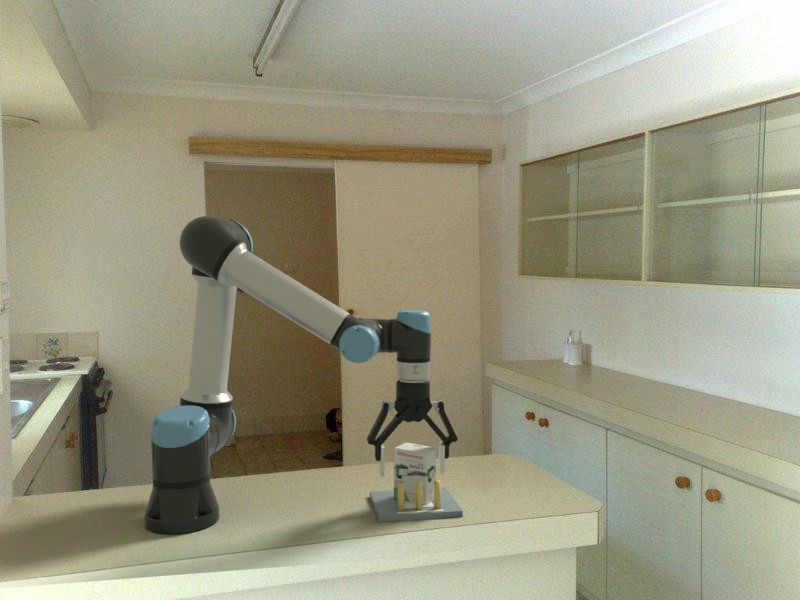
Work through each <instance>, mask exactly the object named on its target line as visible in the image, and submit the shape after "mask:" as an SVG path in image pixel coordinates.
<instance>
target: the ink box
mask: <svg viewBox="0 0 800 600" xmlns="http://www.w3.org/2000/svg"><path fill="white" fill-rule="evenodd" d="M393 460H394V461H393V463H394V465H393V467H394V469H393V475H394V476H393V490H394V498H395V499H398V482H403V483H404V500H405V501H409V502H414V503H416V482H417V481H422V491H423V505H426V504H428V503H430V502H432V501H433V500H434V481H435V480H437V475H436V474H437V473H436V472H437V448H435V447H434V446H428V445H422V444H417V443H412V442H403V443H402V444H400V445H398V446H396V447H394V459H393Z"/></svg>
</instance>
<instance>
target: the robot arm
mask: <svg viewBox="0 0 800 600" xmlns="http://www.w3.org/2000/svg"><path fill="white" fill-rule="evenodd" d="M180 233H181V234H180V237H179V248H180V249H179V250H180V252H181V255H182V257H183V258H184V260H185V261H186V262H187V264H188V265H190V266H191V277H192V278H193V279H194V280H195V282H196V283H197V291H196V300H195V311H194V312H195V313H194V322H193V332H192V333H193V335H192V345H191V355H190V363H189V364H190V365H189V378H188V387H187V388H186V389H185V390H184V391H182V392H181V394H180V400H179V406H178V405H177V406H173V407H171V408H166V409H163V410H161V411H159V412H157V413H156V414H155V415H154V416H153V418H152V420H151V428H150V437H149V438H150V445H151V448H150V449H151V468H152V473H151V474H152V488H151V491H150V494H149V495H150V497H149V498H148V503H147V505H146V509H145V512H144V527H145V529H147V530H149V531H151V532H154V533H158V534H165V535H171V534H172V535H174V534H175V535H176V534H185V533H193V532H196V531H200V530H204V529H207V528H209V527H211V526H213V525H214V524H216V523H218V521H219V520H220V505H219V503H218V500H217V497H216V495H215V492H214V489H213V486H212V483H211V464H210V461H211V460H210V459H211V457H212V455H214V454H215V453H216V452H218V451H220V450H221V449H222V448H224V447H225V446H226V445H228V443H229V441H230V440H231V438H232V437H233V435H234V433H235V430H236V428H237V427H236V425H237V418H236V414H235V411H234V409H233V401H234V397H233V396H232V394H231V393H230V391H228V381H229V374H230V373H229V371H230V362H231V350H232V341H233V330H234V320H235V309H236V301H237V300H236V299H237V297H236V296H237V290H238V289H239V290H241V291H243V292H244V293H246V294H248V295H249V296H251V298H254V299H256V300H257V301H259V302H260V303H262V304H264V305H265V306H267V307H269V308H270V309H272V310H273V311H276V313H278V314H280V315H282V316H283V317H284V318H286V319H288V320H289V321H291V322H293V323H295V324H296V325H298V326H299V327H301V328H303V329H304V330H306V331H308V332H310V333H311V334H313V335H314V336H316V337H318V338H319V339H321V340H322V341H323V342H325V343H327V344H328V345H330V346H332V347H333V348H335V349H337V350H338V351H340V352H341V355H342V356H343V357H344V359H346V360H347V361H348V362H350V363H354V364H361V363H366V362H368V361H370V360H372V359H373V358H374V357H375V356H376V355H377V354H379V353H381V354H382V353H383V354H384V353H387V354H388V353H389V354H392V353H393V354H394V353H395V354H396V377H395V378H396V379H398V380H397V381H396V382H395V383H396V384H395V401H394V402H388V401H386V400H382V402H381V405H380V406H381V407H380V411H379V413H378V415H377V417H376V418H375V419H376V420H375V422H374V423H373V426H372V428H370V429H371V430H370V431H369V433H368V435H367V438H366V441H367V443H368V445H372V446H374V458H375V461H376V462H379V464H378V465H379V469H378V470H379V471H378V473H379V475H380V477H381V478H383V477H385V463H386V460H385V455H386V453H385V452H386V450H385V448H386V447H385V444H384V443H385V442H386V441H387V440H388V438H389V437H390V436H391V435H392V433H393V432H394V431H395V430H397V428H398V427H399V425H401V424H402V423H403V421H404V422H406V423H411V422H416V423H420V422H422V421H423V420H424V421H425V422H426V423H427V424H428V426H429V427H430V428H431V429H432V430H433V432H434V433H435V434H436V435H437V436H438V437H439V439H440V440H441V442H438V472H439V473H440V475H445V471H446V470H445V468H446V467H445V466H446V465H445V463H446V459H449V457H450V446H451V444H452V443H457V442H458V436H457V434H456V432H455V430H454V428H453V425H452V424H451V422H450V419H449V417H448V416H447V414H446V411H445V404H444V402H443V401H442V400H441V399H437V400H436V401H431V399H430V398H431V382H430V381H429V379H430V378H431V350H432V349H431V347H432V346H431V345H432V343H431V342H432V341H431V340H432V328H431V327H432V326H431V325H432V324H431V322H432V320H431V315H430V313H429V312H428V311H426V310H419V309H402V310H401V309H400V310H398V312H397V314H396V318H391V319H387V318H386V319H385V318H383V319H382V318H362V317H356V316H354V315H353V314H350V313H349V312H347V310H344V309H343V308H341V307H339V306H338V305H336V304H334V303H333V302H331V301H330V300H328V299H326V298H324V297H323V296H322V295H320V294H319V293H317V292H315V291H313V290H312V289H310V288H309V287H307V286H306V285H304V284H302V283H301V282H299V281H297V280H296V279H294V277H293V278H292V277H291V276H289V275H288V274H285V273H284V272H283V271H281V270H279V269H278V268H276V267H275V266H273V265H271V264H270V263H268V262H266V261H265V260H264V259H261V258H260V257H259V256H257V255H255V254H254V253H253V250H254V242H253V238H252V236H251V233H250V232H249V231H248V229H247V228H246V227H245V226H244V225H242V224H241V223H240V222H238V221H236V220H234V219H230V218H228V217H217V216H211V215H204V216H199V217H196V218H194V219H192V220H191V221H189V222H188V223H187V224H186V225H185V226H184V228H183V229H182V231H181V232H180ZM432 408H434V410H435V411H436V412H438V413H437V414H438V415H439V417H440V420H441V421H442V424H443V426H444V428H445V430H446V433H447V434H448V436H446V435H445V433H444V432H443V431H442V430H441V429H440V428H439V426H438V425H437V424H436V422H434V421H433V419H432V418H431V417H430V415H428V414H429V412H430V411H431V410H432ZM393 409H394V410H395V411H396V414H395V415H394V417H393V418H392V419H391V421H390V422H389V423H388V424H387V425H386V426H385V428H384V429H383V430H382V432H381V433H380V434H379V432H380V430H381V429H382V426H383V425H384V422H385V420H386V418H387V416H388V413H390V412H391V411H392V410H393ZM378 434H379V435H378Z"/></svg>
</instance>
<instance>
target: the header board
mask: <svg viewBox="0 0 800 600" xmlns="http://www.w3.org/2000/svg"><path fill="white" fill-rule="evenodd" d="M441 483H442V482H441V480H439V479H436V480H435V481H434V500H433V501H432V502H430V503H428V504H426V505H423V491H422V481H417V482H416V503H414V502H409V501H405V500H404V483H403V482H398V499H395V498H394V489H391V490H390V489H389V490H378V491H377V490H376V491H373V490H372V491H370V492H369V497H371V498H370V500H371V503H372V505H373V508H374V511H375V513H377V514H376V517H377V518H378V522H379V523H382V522H383V521H385V522H395V521H396V522H397V521H410V520H411V521H413V520H414V521H415V520H426V519H427V520H428V519H429V520H430V519H441V518H443V519H444V518H457V517H458V518H461V517H463V516H464V514H463V513H464V511H463V509H462V508H461V506H460V505H459V504H458V502H457V501H456V499H455V498H454V496H453V495H452V494H451V493H450V491H449V489H448V488H447V487H446V486H442V485H441Z"/></svg>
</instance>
